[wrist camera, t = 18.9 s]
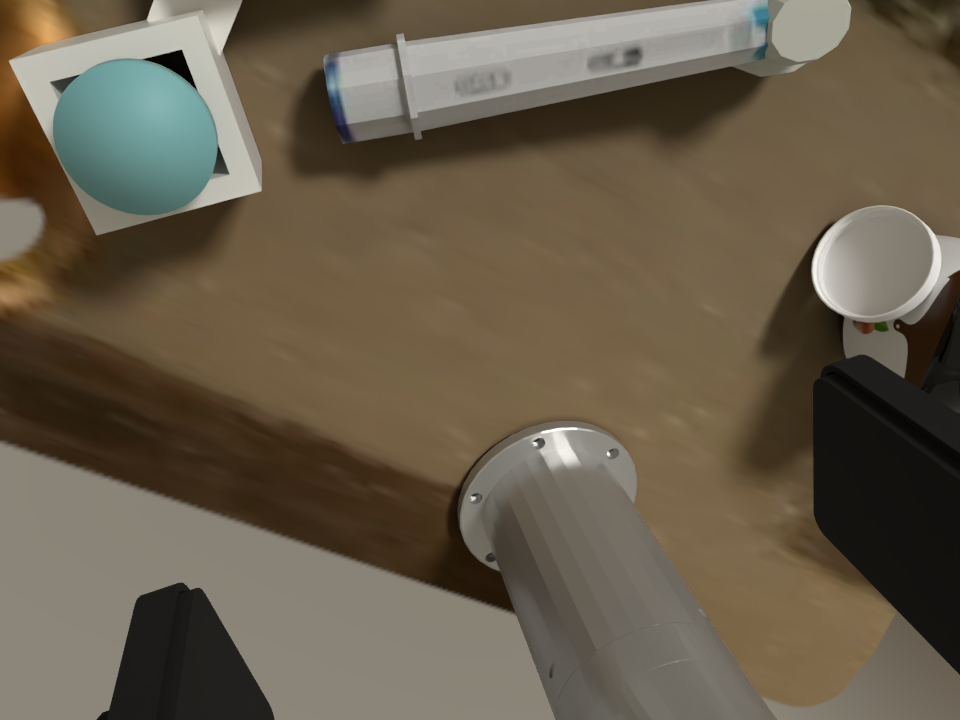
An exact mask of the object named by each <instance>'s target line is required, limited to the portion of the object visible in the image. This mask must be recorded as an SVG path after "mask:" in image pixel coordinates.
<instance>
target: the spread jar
mask: <svg viewBox="0 0 960 720" xmlns="http://www.w3.org/2000/svg"><path fill="white" fill-rule="evenodd" d="M811 276H812V282H813V285H814V288H815V291H816V293H817V294H818V296H819V297H820V299H821V300H822V301H823V302H824V303H825V304H826V305H827V306H828V307H829V308H831V309H832V310H834V311H835V312H837V313H839V334H840V340H841V345H842V348H843V351H844V353H845V356H846V359H848V358H851V357H854V356H857V355H867V356H869V357H872V358H873V359H875V360H876V361H878V362H879V363H881V364H882V365H884V366H886V367H887V368H889V369H890V370H892V371H893V372H895V373H896V374H898V375H900V376H901V377H903V378H904V379H906V380H907V381H909V382H910V383H912V384H914V385H915V386H917V387H918V388H920V389H921V390H923V391H924V392H926V393H928V394H929V395H931V396H932V397H934V398H935V399H937V400H938V401H940V402H942V403H943V404H945V405H946V406H948V407H949V408H951V409H952V410H954V411H956V412H957V413H959V414H960V238H955V237H948V236H940V235H934V233H933V232H932V231H931V229H930V228H929V227H928V226H927V225H926V224H925V223H924V222H922V221H921V220H920V219H919V218H918V217H916V216H915V215H914V214H912V213H910V212H908V211H906V210H904V209H901V208H897V207H893V206H880V205H879V206H871V207H866V208H863V209H859V210H856V211H854V212H852V213H850V214H848V215H846V216H844V217H843V218H841V219H840V220H839V221H837V222H836V223H834V224H833V225H832V226H831V227H830V228H829V229H828V230H827V231H826V233H825V234H824V236H823V237H822V238H821V240H820V241H819V243H818V245H817V247H816V249H815V252H814V255H813V259H812V266H811Z"/></svg>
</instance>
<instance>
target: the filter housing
mask: <svg viewBox="0 0 960 720" xmlns="http://www.w3.org/2000/svg"><path fill="white" fill-rule="evenodd" d="M242 1H243V0H154V1H153V4H152V7H151V9H150V12H149V15H148V17H147V20H143V21H139V22H134V23H130V24H126V25H122V26H118V27H114V28H109V29H105V30H101V31H97V32H93V33H88V34H84V35H80V36H76V37H72V38H68V39H63V40H59V41H55V42H51V43H47V44H43V45H40V46H38V47H36V48H34V49H32V50H30V51H28V52H26V53H24V54H22V55H20V56H17V57H15V58H13V59H11V60H9V63H10V65H11V67H12V69H13V71H14V73H15V75H16V77H17V79H18V81H19V83H20V85H21V87H22V89H23V91H24V93H25V95H26V97H27V99H28V101H29V103H30V105H31V107H32V109H33V111H34V113H35V115H36V117H37V118H38V120H39V122H40V124H41V126H42V128H43V130H44V132H45V134H46V136H47V138H48V140H49V142H50V144H51V146H52V148H53V150H54V152H55V154H56V156H57V158H58V160H59V162H60V164H61V166H62V168H63V170H64V172H65V174H66V176H67V178H68V180H69V182H70V184H71V186H72V188H73V190H74V192H75V194H76V196H77V198H78V200H79V202H80V204H81V206H82V208H83V210H84V212H85V214H86V216H87V218H88V220H89V221H90V223H91V225H92V227H93V229H94V231H95V233H96V235H100V234H104V233H108V232H111V231H115V230H119V229H123V228H126V227H130V226H134V225H137V224H141V223H145V222H148V221H152V220H156V219H160V218H163V217H167V216H171V215H174V214H178V213H182V212H186V211H189V210H193V209H197V208H200V207H204V206H208V205H211V204H215V203H219V202H223V201H226V200H230V199H234V198H237V197H241V196H245V195H248V194H252V193H256V192H260V191H262V160H261V158H260V155H259V152H258V149H257V146H256V144H255V141H254V138H253V135H252V132H251V130H250V127H249V124H248V121H247V118H246V116H245V113H244V110H243V107H242V104H241V102H240V99H239V96H238V93H237V90H236V88H235V85H234V82H233V79H232V76H231V74H230V71H229V68H228V65H227V62H226V60H225V57H224V54H223V51H222V50H223V47H224V45H225V42H226V40H227V37H228V35H229V32H230V30H231V28H232V25H233V23H234V20H235V18H236V15H237V13H238V10H239V8H240V5H241V3H242ZM178 50H182V51H183V54H184V56H185V59H186V62H187V64H188V67H189V69H190V72H191V75H192V77H193V80H194V82H195V85H196V88H197V90H198V93H199V94H200V95H201V97H202V98H203V99H204V101H205V102H206V104H207V106H208V107H209V109H210V112H211V114H212V116H213V119H214V122H215V125H216V129H217V135H218V145H219V148H220V150H219V151H217V157H216V162H215V166H214V170H213V173H212V175H211V178H210V180H209V182H208V183H207V185H206V187H205V188H204V189H203V191H202V192H201V193H200V194H199V195H198V196H197V197H196V198H195V199H194V200H193V201H191V202H190V203H188V204H187V205H185V206H183V207H181V208H179V209H177V210H174V211H171V212H168V213H164V214H159V215H136V214H130V213H125V212H122V211H118V210H115V209H113V208H110V207H108V206H106V205H104V204H102V203H100V202H98V201H97V200H95V199H94V198H92V197H91V196H89V195H88V194H87V193H86V192H85V191H83V190H82V189H81V188H80V187H79V186H78V185H77V184H76V183H75V182H74V181H73V179H72V178H71V177H70V175H69V174H68V173H67V171H66V170H65V168H64V166H63V164H62V163H61V160H60V158H59V156H58V153H57V150H56V147H55V143H54V137H53V118H54V112H55V109H56V106H57V103H58V101H59V99H60V97H61V95H62V93H63V92H64V91H65V89H66V88H67V86H68V85H69V84H70V83H71V82H72V81H73V80H74V79H76V78H77V77H78V76H80V75H81V74H82V73H84V72H85V71H87V70H88V69H89V68H91V67H93V66H95V65H97V64H99V63H102V62H106V61H109V60H114V59H125V58H131V59H145V58H149V57H153V56H157V55H161V54H166V53H170V52H174V51H178Z"/></svg>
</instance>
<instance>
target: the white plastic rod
mask: <svg viewBox="0 0 960 720" xmlns="http://www.w3.org/2000/svg"><path fill="white" fill-rule="evenodd" d="M850 14H851V7H850V4H849V2H848V0H709V1H701V2H694V3H687V4H679V5H672V6H665V7H657V8H650V9H642V10H635V11H628V12H620V13H613V14H605V15H598V16H591V17H583V18H576V19H568V20H561V21H554V22H546V23H539V24H532V25H524V26H517V27H509V28H502V29H495V30H487V31H480V32H472V33H465V34H458V35H450V36H443V37H435V38H428V39H421V40H413V41H406V42H405V39H404V33H403V34H397V35H396V36H397V43H394V44H388V45H381V46H375V47H369V48H363V49H357V50H351V51H345V52H339V53H333V54H327V55H325V57H324V59H323V63H324V70H325V77H326V83H327V90H328V95H329V99H330V103H331V108H332V112H333V116H334V120H335V125H336V128H337V130H338V133H339V136H340V138H341V141H342V144H347V143H353V142H359V141H365V140H370V139H376V138H382V137H388V136H394V135H400V134H406V133H412V132H414V137H415V140H419V139H422V135H421V131H423V130H428V129H433V128H438V127H443V126H447V125H452V124H457V123H462V122H467V121H471V120H476V119H481V118H486V117H490V116H495V115H500V114H505V113H510V112H514V111H519V110H524V109H529V108H534V107H538V106H543V105H548V104H553V103H558V102H562V101H567V100H572V99H577V98H581V97H586V96H591V95H596V94H601V93H605V92H610V91H615V90H620V89H625V88H629V87H634V86H639V85H644V84H649V83H653V82H658V81H663V80H668V79H672V78H677V77H682V76H687V75H692V74H696V73H701V72H706V71H711V70H716V69H720V68H725V67H730V66H732V67H734V68H737V69H740V70H743V71H745V72H748V73H751V74H754V75H757V76H759V77H764V76H770V75H776V74H782V73H788V72H794V71H795V70H797V69H798V68H800V67H801V66H803V65H804V64H806V63H810V62H813V61H815V60H817V59H818V58H820V57H822V56H823V55H825V54H826V53H828V52H829V51H831V50H832V49H834V48H835V47H837V45H838V44H839V42H840V41H841V39H842V38H843V36H844V35H845V33H846V32H847V30H848V29H849V22H850Z"/></svg>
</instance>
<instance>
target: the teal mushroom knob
mask: <svg viewBox="0 0 960 720" xmlns="http://www.w3.org/2000/svg"><path fill="white" fill-rule="evenodd" d="M53 137H54V143H55V147H56V150H57V153H58V156H59V158H60V160H61V163H62V164H63V166H64V168H65V170H66V171H67V173H68V174H69V175H70V177H71V178H72V179H73V181H74V182H75V183H76V184H77V185H78V186H79V187H80V188H81V189H82V190H83V191H85V192H86V193H87V194H88V195H89V196H91V197H92V198H94V199H95V200H97V201H98V202H100V203H102V204H104V205H106V206H108V207H110V208H113V209H115V210H118V211H122V212H125V213H130V214H136V215H159V214H164V213H168V212H171V211H174V210H177V209H179V208H181V207H183V206H185V205H187V204H188V203H190V202H191V201H193V200H194V199H195V198H196V197H197V196H198V195H199V194H200V193H201V192H202V191H203V189H204V188H205V187H206V185H207V183H208V182H209V180H210V178H211V175H212V173H213V170H214V166H215V162H216V157H217V151H218V135H217V129H216V125H215V122H214V119H213V116H212V114H211V112H210V109H209V107H208V106H207V104H206V102H205V101H204V99H203V98H202V97H201V95H200V94H199V93H198V91H197V90H196V89H195V88H194V87H193V86H192V85H191V84H190V83H189V82H188V81H186V80H185V79H184V78H183V77H181V76H180V75H178V74H177V73H175V72H174V71H172V70H170V69H168V68H166V67H164V66H162V65H159V64H156V63H153V62H150V61H146V60H141V59H131V58H125V59H114V60H109V61H106V62H102V63H99V64H97V65H95V66H93V67H91V68H89V69H88V70H87V71H85V72H84V73H82V74H81V75H80V76H78V77H77V78H76V79H74V80H73V81H72V82H71V83H70V84H69V85H68V86H67V88H66V89H65V91H64V92H63V93H62V95H61V97H60V99H59V101H58V103H57V106H56V109H55V112H54V118H53Z"/></svg>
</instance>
